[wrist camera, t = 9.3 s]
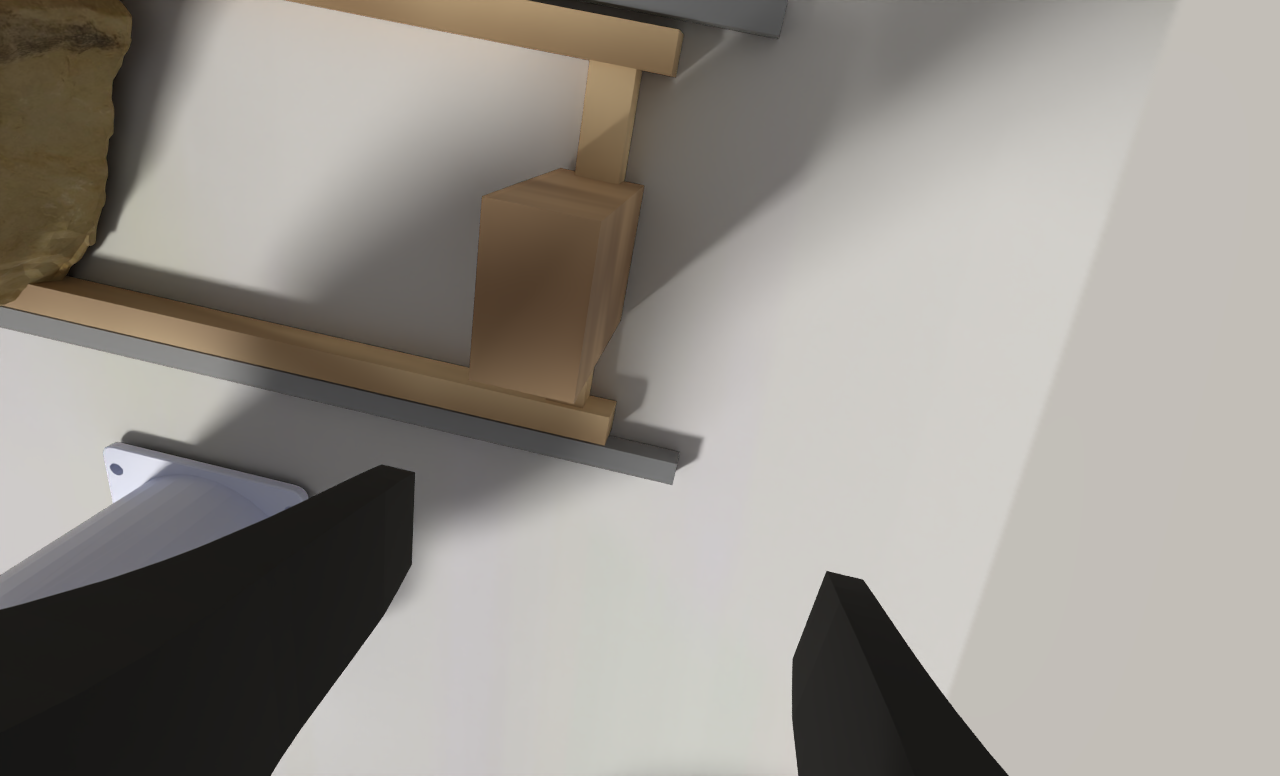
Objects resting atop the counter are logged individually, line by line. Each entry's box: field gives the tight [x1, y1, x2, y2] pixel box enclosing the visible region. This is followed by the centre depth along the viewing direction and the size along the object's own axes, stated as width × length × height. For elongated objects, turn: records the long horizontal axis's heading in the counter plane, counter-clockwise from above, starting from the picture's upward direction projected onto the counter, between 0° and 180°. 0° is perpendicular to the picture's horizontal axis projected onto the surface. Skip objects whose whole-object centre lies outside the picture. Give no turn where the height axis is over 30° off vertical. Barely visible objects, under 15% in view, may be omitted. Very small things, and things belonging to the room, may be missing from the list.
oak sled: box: [2, 0, 684, 446], centre depth 17 cm, size 12×25×6 cm, turn 80°
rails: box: [0, 0, 788, 485], centre depth 18 cm, size 20×37×1 cm, turn 80°
